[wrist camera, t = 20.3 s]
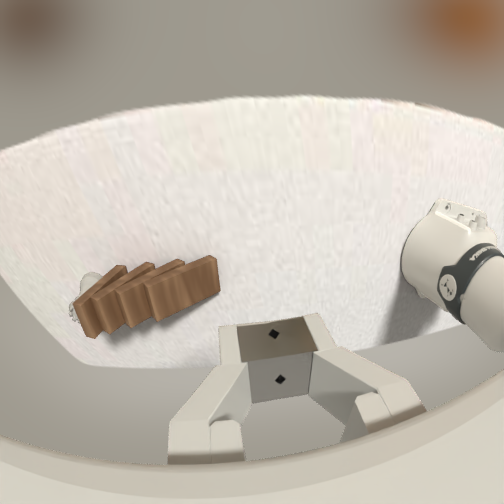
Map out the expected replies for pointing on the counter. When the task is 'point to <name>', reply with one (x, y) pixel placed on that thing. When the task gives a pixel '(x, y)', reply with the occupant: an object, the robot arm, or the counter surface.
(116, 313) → the domino
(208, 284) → the domino
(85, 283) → the rook chess piece
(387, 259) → the counter surface
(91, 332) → the domino
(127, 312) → the domino
